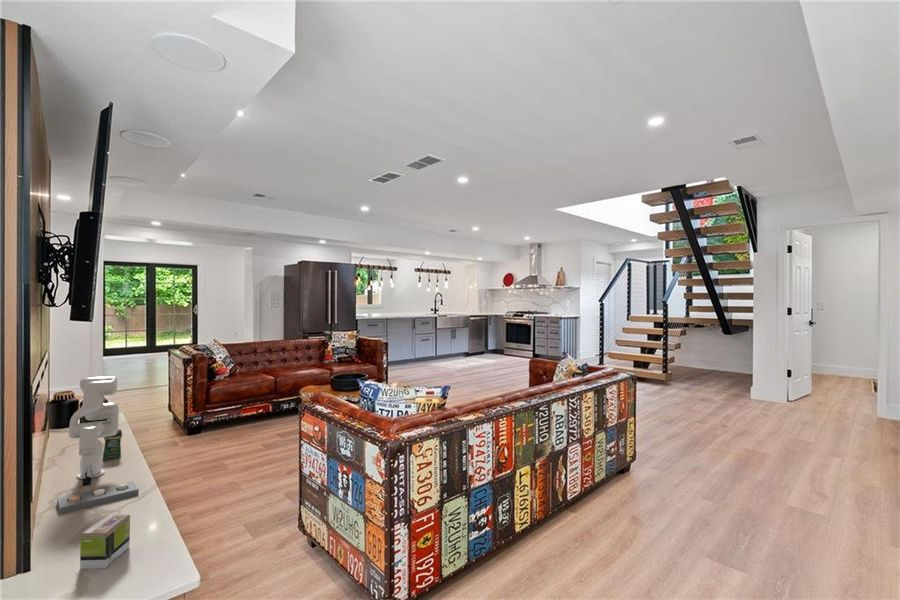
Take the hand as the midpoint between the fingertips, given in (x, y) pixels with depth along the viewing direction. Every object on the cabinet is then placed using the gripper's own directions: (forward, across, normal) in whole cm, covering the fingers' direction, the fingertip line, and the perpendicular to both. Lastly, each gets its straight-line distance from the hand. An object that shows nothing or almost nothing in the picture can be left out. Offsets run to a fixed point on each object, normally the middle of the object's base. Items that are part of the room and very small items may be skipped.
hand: (86, 485), depth 224 cm
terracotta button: (+8, 0, -5) cm, 10 cm away
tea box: (+9, +66, 0) cm, 67 cm away
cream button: (+8, 0, +5) cm, 9 cm away
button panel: (+9, 0, +5) cm, 10 cm away
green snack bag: (+9, -66, +20) cm, 70 cm away
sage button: (+7, 0, +15) cm, 17 cm away
